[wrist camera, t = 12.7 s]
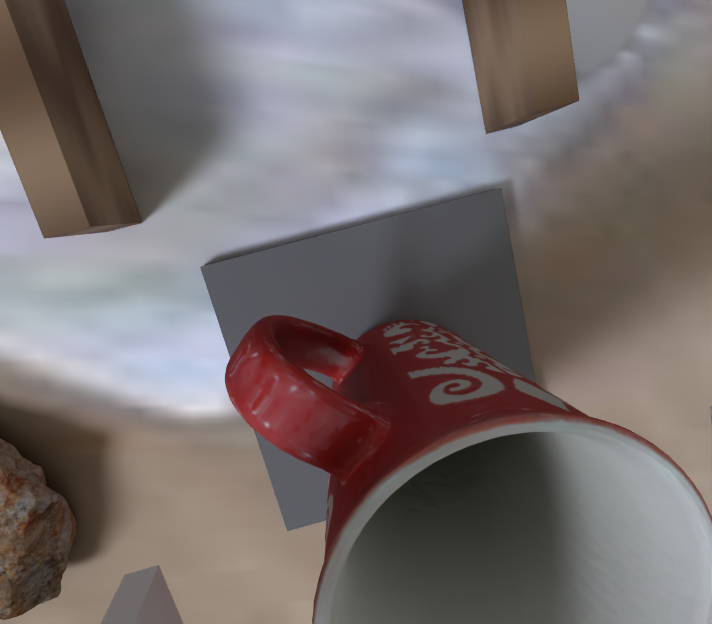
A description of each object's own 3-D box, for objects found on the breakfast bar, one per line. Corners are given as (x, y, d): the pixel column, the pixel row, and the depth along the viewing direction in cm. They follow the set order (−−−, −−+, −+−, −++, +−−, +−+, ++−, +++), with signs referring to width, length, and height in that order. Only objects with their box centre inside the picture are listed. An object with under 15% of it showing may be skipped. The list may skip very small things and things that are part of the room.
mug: (536, 379, 24) (810, 585, 10) (413, 508, 24) (522, 848, 11) (344, 207, 21) (381, 188, 8) (217, 356, 22) (63, 559, 9)
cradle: (5, -43, 19) (-105, -133, 14) (473, -156, 19) (528, -281, 14) (106, 231, 21) (43, 238, 16) (519, 125, 22) (579, 100, 17)
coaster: (203, 265, 22) (200, 267, 21) (496, 188, 22) (500, 188, 22) (288, 523, 25) (287, 531, 24) (543, 452, 25) (548, 458, 25)
